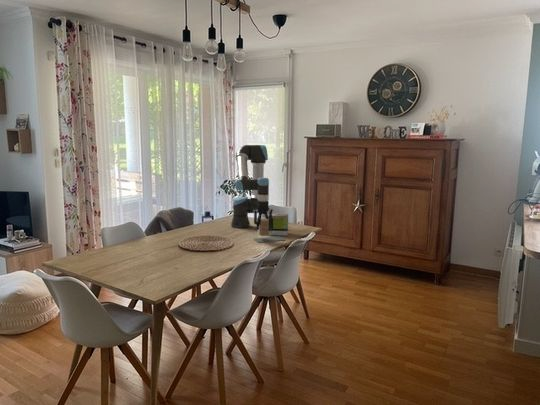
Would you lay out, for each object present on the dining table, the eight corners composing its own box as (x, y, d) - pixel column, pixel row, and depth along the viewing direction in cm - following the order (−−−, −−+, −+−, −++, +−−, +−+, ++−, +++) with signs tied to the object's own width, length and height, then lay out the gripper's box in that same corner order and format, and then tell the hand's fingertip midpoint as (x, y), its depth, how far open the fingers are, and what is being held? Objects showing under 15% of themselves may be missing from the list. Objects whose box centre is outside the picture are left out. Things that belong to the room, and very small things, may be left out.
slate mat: (253, 239, 277) (253, 238, 277) (279, 237, 284) (279, 236, 284) (258, 242, 267) (258, 242, 267) (285, 240, 275) (285, 239, 275)
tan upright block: (257, 233, 276) (257, 217, 275) (263, 232, 278) (264, 217, 276) (261, 236, 268) (261, 220, 266) (268, 235, 270) (268, 219, 268)
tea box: (288, 232, 297) (288, 213, 295) (287, 236, 287) (287, 216, 285) (268, 232, 299) (268, 212, 296) (266, 235, 289) (266, 215, 286)
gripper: (252, 202, 263) (252, 236, 266) (277, 200, 269) (277, 234, 273) (248, 200, 270) (248, 233, 273) (273, 199, 276) (272, 231, 280)
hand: (262, 233), depth 273 cm, fingers closed on tan upright block, 5 cm apart
